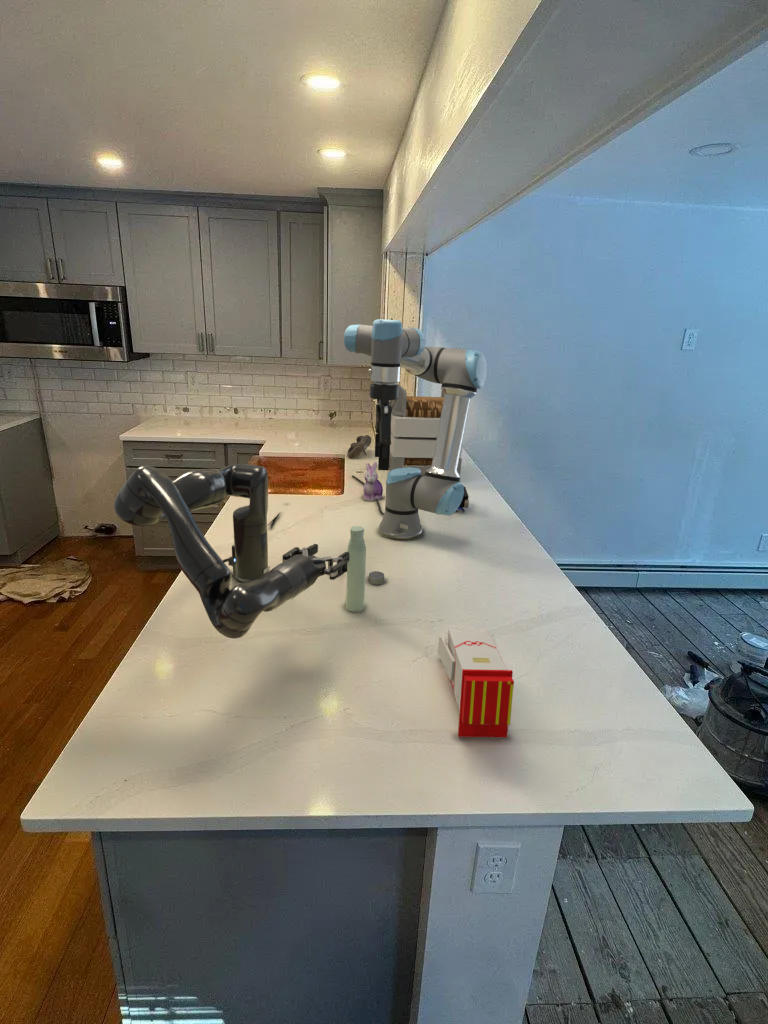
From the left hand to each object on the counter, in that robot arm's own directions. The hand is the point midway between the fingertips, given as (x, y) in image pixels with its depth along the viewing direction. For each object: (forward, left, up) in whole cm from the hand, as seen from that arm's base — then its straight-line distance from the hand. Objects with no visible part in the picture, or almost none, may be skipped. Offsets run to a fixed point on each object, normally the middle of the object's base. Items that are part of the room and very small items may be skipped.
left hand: (332, 551), depth 133 cm
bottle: (0, +12, -20) cm, 24 cm away
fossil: (-80, +155, -20) cm, 176 cm away
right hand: (-2, +28, +15) cm, 32 cm away
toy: (+38, -6, -20) cm, 44 cm away
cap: (-2, +28, -19) cm, 34 cm away
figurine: (-39, +94, -20) cm, 104 cm away
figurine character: (-5, +103, -20) cm, 105 cm away
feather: (-58, +56, -20) cm, 83 cm away
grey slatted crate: (-39, +141, -20) cm, 148 cm away
